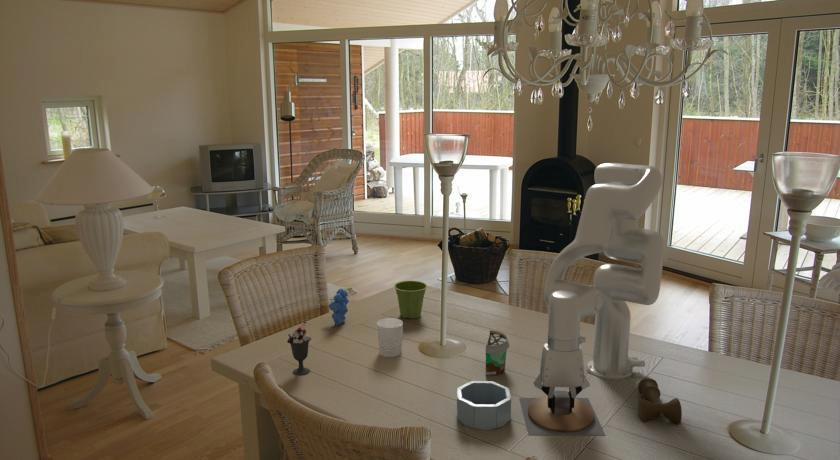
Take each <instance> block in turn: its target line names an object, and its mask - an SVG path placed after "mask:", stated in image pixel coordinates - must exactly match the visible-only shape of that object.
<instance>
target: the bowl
mask: <svg viewBox="0 0 840 460" xmlns="http://www.w3.org/2000/svg"><path fill="white" fill-rule="evenodd" d="M456 412H457V413H456V414H457V417H456V418H457V420H458V422H459V423H460V424H461V425H462V426H463V427H466V428H468V429H469V428H473V429H476V430H494V429H495V430H496V429H499V428H502V427H503V426H505V425H507V424H508V423H509V421H510V420H511V419H512V395H511V391H510V388H509V387H507V386H506V385H502V384H500V383H498V382H495V381H491V380H489V381H488V380H471V381H469V382H467V383H465V384H463V385H461V386H458V387H457V388H456Z"/></svg>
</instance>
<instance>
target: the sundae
mask: <svg viewBox="0 0 840 460" xmlns="http://www.w3.org/2000/svg"><path fill="white" fill-rule="evenodd" d="M306 324H307V321H304V322H303V324H301V327H297V329H296V330H294V331H293V332H292V335H291V334H287V335H288V339H287V343H288V344H290V348H291V352H292V356H293V359H295V361H297V362H298V368H295V369H293V370H292V375H295V376H299V377H300V376H301V377H302V376H305V375H308V374H309V373H310V372H311V370H310V369H309V368H308V367H305V366H304V361H305V360H306V359H307V357H308V354H309V344H310V341H311V340H312V338H311V336H309V334H308V333H307V330H306V328H302V327H304V326H305V325H306Z"/></svg>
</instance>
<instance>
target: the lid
mask: <svg viewBox="0 0 840 460" xmlns="http://www.w3.org/2000/svg"><path fill="white" fill-rule="evenodd" d="M568 392H569V391H568V390H554V398H555V411H554V413H552V412H551V409H550V408H548V396H547V395H543V396H539V397H535V398H536V399H534V400H533V401H532V402H531V403H530V404H529V406H528V415H529V417H530V419H531V420H532V421H533V422H534V423H536V424H537V425H539V426H541V427H543V428H546V429H549V430H553V431H559V432H574V431H580V430H583V429H585V428H587V427H589V426H590V425H591V424H592V422H593V420H594V412H595V411H594V412H593V410H594V409H593V410H592V408H591V407H590V406H589V405H588V404H586V403H585V402H583V401H581V400H579V399H576V398H577V397H576V398H575V401H574V408H572V413H569V410H570V397H569V394H568Z"/></svg>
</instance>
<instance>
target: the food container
mask: <svg viewBox="0 0 840 460" xmlns="http://www.w3.org/2000/svg"><path fill="white" fill-rule="evenodd" d="M509 347H510V342H509V339H508V336H507V335H506V334H504V333H503V332H500V331H497V330H490V329H489V337H488V339H487V344H486V345H485V376H487V377H492V376H498V375H503V374H504V373H505V372H506V371H505V370H506V360H507V352H508V351H507V350H508V348H509Z"/></svg>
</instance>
